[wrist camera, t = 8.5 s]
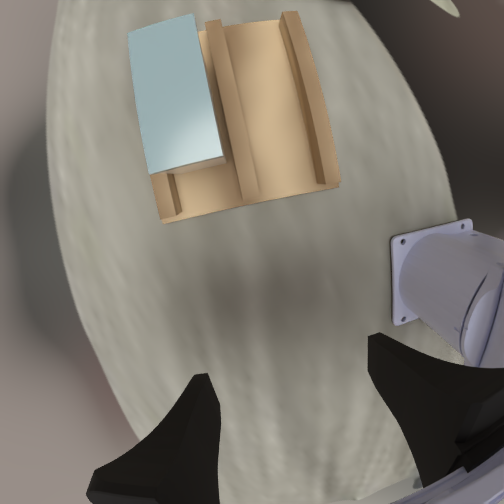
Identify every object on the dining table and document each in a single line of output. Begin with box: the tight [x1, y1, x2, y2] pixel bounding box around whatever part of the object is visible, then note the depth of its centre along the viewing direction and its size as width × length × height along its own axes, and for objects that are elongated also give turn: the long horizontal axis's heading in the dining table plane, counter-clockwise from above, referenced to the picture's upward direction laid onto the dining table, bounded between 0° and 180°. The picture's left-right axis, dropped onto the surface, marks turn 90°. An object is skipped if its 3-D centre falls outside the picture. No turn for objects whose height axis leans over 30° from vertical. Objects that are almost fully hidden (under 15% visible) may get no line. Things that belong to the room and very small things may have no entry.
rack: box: [150, 11, 341, 224], centre depth 16 cm, size 12×13×3 cm
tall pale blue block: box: [127, 13, 227, 175], centre depth 13 cm, size 3×7×7 cm, turn 11°
